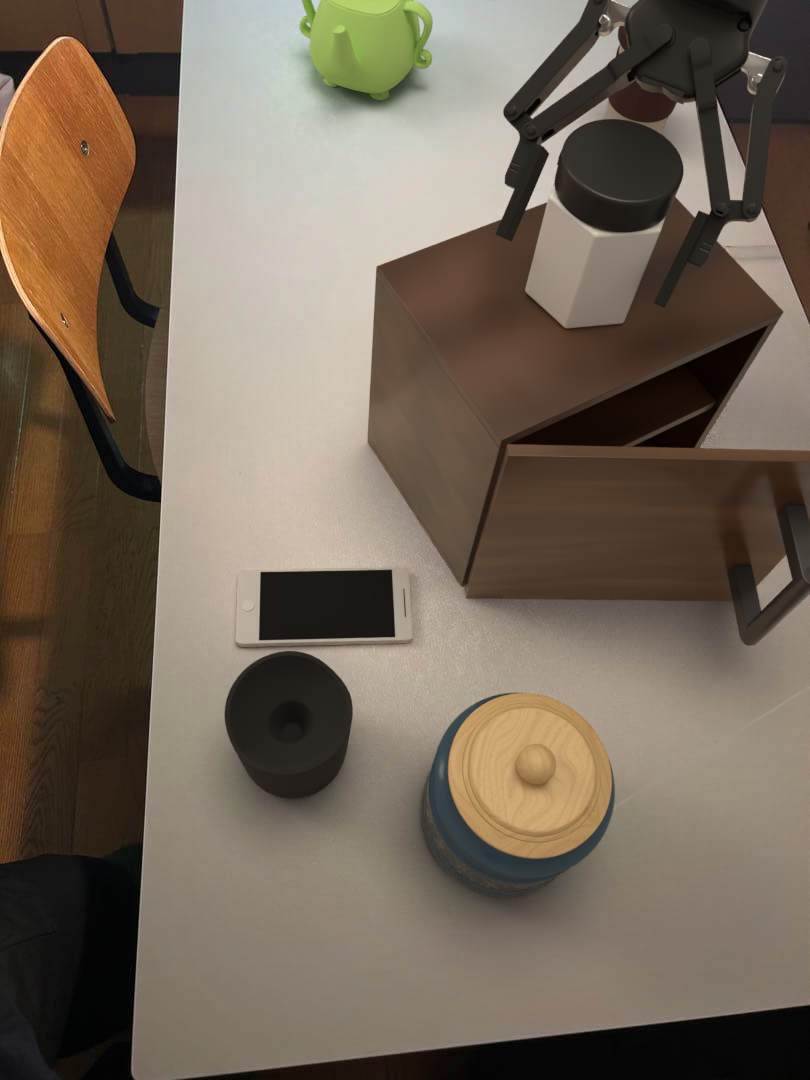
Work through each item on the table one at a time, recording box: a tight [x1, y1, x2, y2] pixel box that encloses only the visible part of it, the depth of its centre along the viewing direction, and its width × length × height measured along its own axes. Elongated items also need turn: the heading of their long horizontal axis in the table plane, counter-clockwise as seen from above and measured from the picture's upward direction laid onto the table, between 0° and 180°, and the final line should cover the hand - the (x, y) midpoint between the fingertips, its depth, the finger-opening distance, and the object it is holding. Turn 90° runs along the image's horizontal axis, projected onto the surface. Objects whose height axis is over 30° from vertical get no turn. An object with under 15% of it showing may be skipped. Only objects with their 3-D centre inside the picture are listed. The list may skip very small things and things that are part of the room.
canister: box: [420, 692, 616, 898], centre depth 68 cm, size 13×13×18 cm
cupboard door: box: [464, 444, 810, 647], centre depth 74 cm, size 8×26×24 cm, turn 91°
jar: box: [525, 118, 685, 329], centre depth 66 cm, size 9×8×12 cm
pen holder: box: [224, 650, 354, 799], centre depth 73 cm, size 9×9×10 cm
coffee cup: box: [603, 26, 678, 134], centre depth 110 cm, size 10×10×15 cm
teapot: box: [298, 0, 434, 101], centre depth 113 cm, size 16×14×13 cm
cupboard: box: [367, 196, 784, 588], centre depth 82 cm, size 18×26×24 cm
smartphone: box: [235, 566, 414, 648], centre depth 83 cm, size 7×15×1 cm, turn 93°
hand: (580, 271), depth 67 cm, fingers open, 11 cm apart
